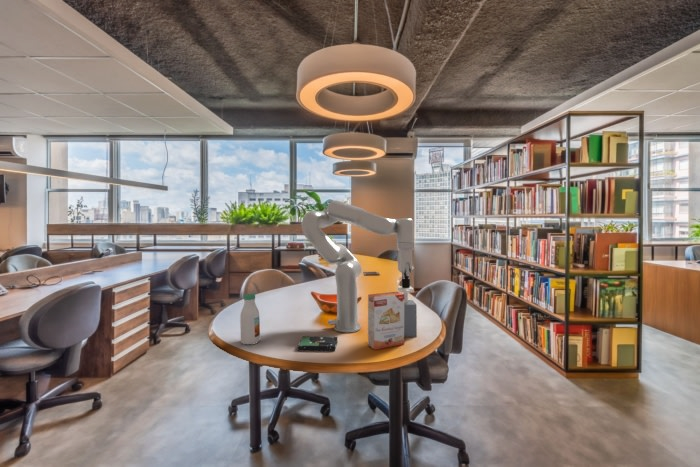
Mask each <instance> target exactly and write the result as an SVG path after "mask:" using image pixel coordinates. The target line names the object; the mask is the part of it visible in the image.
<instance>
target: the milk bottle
mask: <svg viewBox="0 0 700 467" xmlns="http://www.w3.org/2000/svg"><path fill="white" fill-rule="evenodd" d="M243 301H244V303H243V306H242V309H241V311H240V318H239V319H240V320H239V321H240V343H241V344H242V343H243V344H242V345H245V344H251V345H254V344H253V343H255V344H257V343H256V342H258V341H259V340H261V330H260V329H261V326H260V322H261V321H260V311H259V309H258V307H257V304H256V294H255V293H247V294H243ZM259 342H260V341H259ZM259 342H258V343H259Z"/></svg>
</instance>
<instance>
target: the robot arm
mask: <svg viewBox="0 0 700 467" xmlns="http://www.w3.org/2000/svg"><path fill="white" fill-rule="evenodd" d="M341 221H342V222H345V223H347V224H351V225H352V226H356V227H357V228H361V229H364V230H366V231H369V232H372V233H375V234H377V235H380V236H381V235H382V236H391V235H396V250H397V251H398V253H397V270H398V272H400V273H401V286H402V287H403V288H410V286H411V285H410V284H411V282H410V279H411V278H410V277H411V276H410V275H411V274H410V273H412V272H413V253H412V251H414V250H415V241H414V239H415V230H414V226H415V224H414V223H415V222H414V220H413V219H412V218H408V217H407V218H398V219H397V218H390V217H389V218H388V217H383V216H381V215H378V214H375V213H372V212H370V211H367V210H366V209H365V208H362V207H360V206H359V207H358V206H355V205H352V204H349V203H346V202H345V201H342V200H332V201H330V202H329V203H328V204H327V206H326V208H325V209H323V210H311V211H308V212H306V214H304V216H303V218H302V220H301V231H302V233H303V236H304V237H305V239H307V241H308V242H309V243H310V244H311V245H312V247H313V248H314V249H315V250H316V251H317V253H318V255H320V256H321V257H322V259H323V260H324V261H325V262H326V263H327V264H329V265H335V264H336V266H337V267H336V268H335V272H334V276H335V284H336V318H334V319H327V324H328V325H330V326H333V329H334V330H335V331H337V332H340V333H355V332H358V331H360V330H361V328H362V325H361V324H360V323H358V322H359V321H358V287H357V278H358V277H359V276H360V275H361V273H362V265H361V263H360V262H359V260H358V259H357V258H356V257H355V256H354V255H353V253H352V252H351V251H350V250H349V249H348V248H347V247H346V246H345V245H343V244H341V243H336V242H334V241H333V240H332V239H331V238H330V237H329V235H327V234H326V233H325V231H323V230H322V229H325V228H328V227H329V226H332V225H334V224H336V223H338V222H341Z"/></svg>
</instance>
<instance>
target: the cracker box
mask: <svg viewBox="0 0 700 467" xmlns="http://www.w3.org/2000/svg"><path fill="white" fill-rule="evenodd" d="M404 344H405V337H404V294H403V292H399V291H388V292H380V293H371V294H368V296H367V345H368V346H369V347H370V348H371V349H372V350H381V349H387V348H391V347H396V346H402V345H404Z"/></svg>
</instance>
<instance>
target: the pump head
mask: <svg viewBox="0 0 700 467" xmlns="http://www.w3.org/2000/svg"><path fill="white" fill-rule="evenodd" d="M397 292H400V293H403V294H404V303H408V300H409V299H408V296H409V295H408V294H410V293H414V292H415V290H414V288H413V287H412V286H411V285H410V288H403V287H402V285H401V286H400V285H399V286H397Z"/></svg>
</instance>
